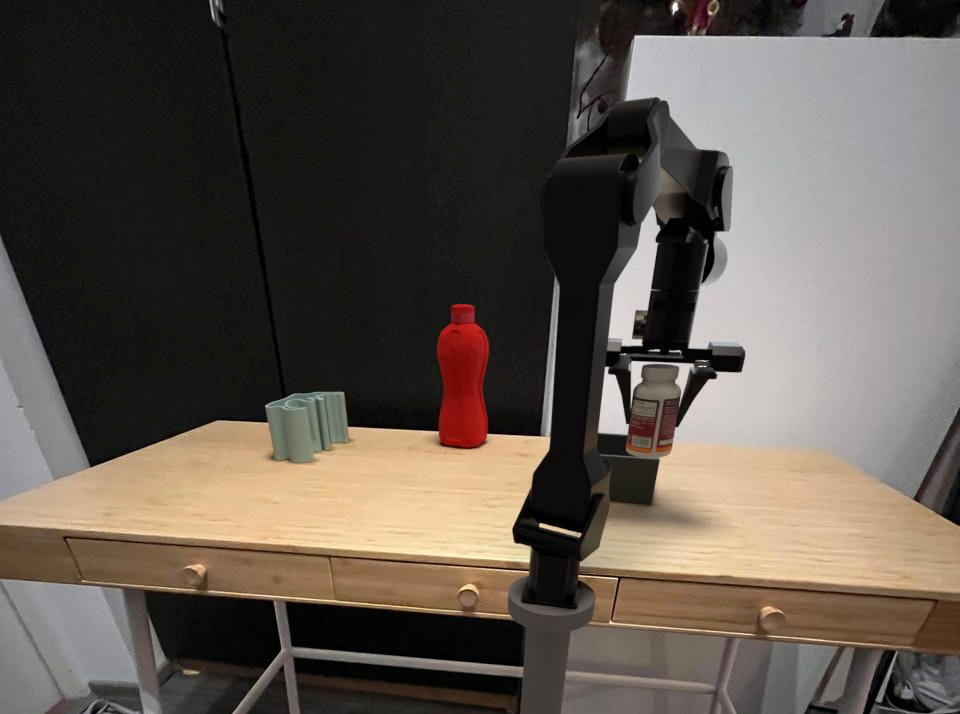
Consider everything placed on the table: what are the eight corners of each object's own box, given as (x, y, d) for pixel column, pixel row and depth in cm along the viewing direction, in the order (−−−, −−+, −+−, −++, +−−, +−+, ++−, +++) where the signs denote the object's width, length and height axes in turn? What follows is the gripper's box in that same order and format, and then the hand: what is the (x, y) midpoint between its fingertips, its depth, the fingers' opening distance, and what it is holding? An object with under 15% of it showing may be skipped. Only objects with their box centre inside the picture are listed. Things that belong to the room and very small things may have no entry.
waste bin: (651, 504, 89) (659, 459, 85) (558, 496, 91) (562, 452, 88) (648, 476, 101) (655, 436, 97) (566, 470, 103) (570, 430, 99)
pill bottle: (663, 447, 81) (678, 362, 75) (676, 459, 76) (693, 369, 70) (620, 447, 81) (631, 362, 75) (630, 459, 76) (643, 369, 70)
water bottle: (494, 438, 122) (498, 303, 108) (475, 450, 114) (476, 306, 100) (455, 433, 125) (454, 302, 111) (433, 445, 116) (429, 304, 103)
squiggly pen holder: (307, 437, 121) (299, 390, 115) (351, 439, 119) (346, 392, 114) (268, 461, 106) (257, 408, 101) (318, 464, 105) (310, 410, 99)
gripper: (746, 289, 73) (717, 416, 82) (600, 286, 76) (587, 408, 85) (761, 293, 64) (726, 435, 73) (595, 290, 67) (581, 426, 76)
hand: (651, 425), depth 77 cm, fingers closed on pill bottle, 6 cm apart
